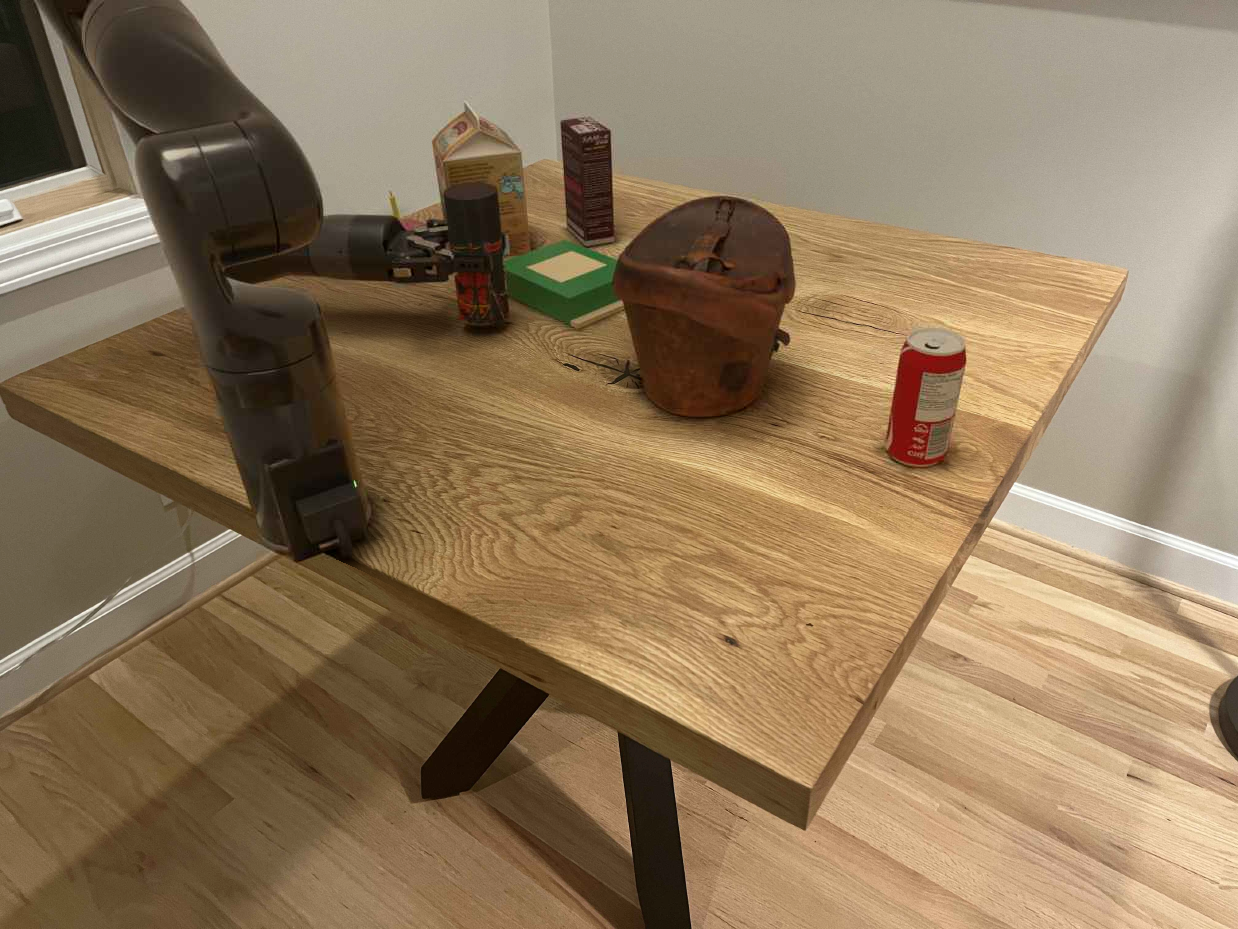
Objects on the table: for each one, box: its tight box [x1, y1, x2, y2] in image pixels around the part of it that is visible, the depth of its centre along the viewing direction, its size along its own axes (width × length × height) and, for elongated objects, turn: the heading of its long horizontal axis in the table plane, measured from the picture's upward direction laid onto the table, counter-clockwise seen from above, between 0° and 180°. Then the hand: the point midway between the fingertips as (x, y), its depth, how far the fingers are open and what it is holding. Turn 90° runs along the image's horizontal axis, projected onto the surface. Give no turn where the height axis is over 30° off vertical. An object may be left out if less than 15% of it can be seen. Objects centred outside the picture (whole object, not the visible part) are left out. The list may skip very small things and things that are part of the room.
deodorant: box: [443, 183, 510, 327], centre depth 104 cm, size 6×6×15 cm
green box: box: [504, 239, 625, 330], centre depth 116 cm, size 18×12×4 cm
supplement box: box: [559, 116, 615, 247], centre depth 129 cm, size 9×5×16 cm, turn 22°
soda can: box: [884, 326, 967, 468], centre depth 81 cm, size 6×6×12 cm
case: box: [612, 195, 797, 418], centre depth 90 cm, size 18×20×18 cm
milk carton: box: [431, 100, 532, 257], centre depth 126 cm, size 11×10×19 cm
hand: (498, 252), depth 103 cm, fingers closed on deodorant, 6 cm apart
